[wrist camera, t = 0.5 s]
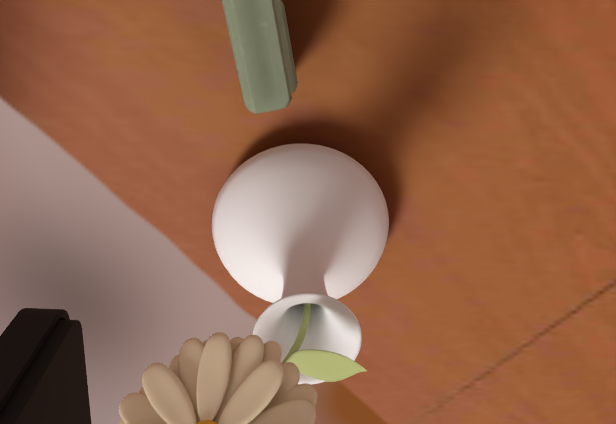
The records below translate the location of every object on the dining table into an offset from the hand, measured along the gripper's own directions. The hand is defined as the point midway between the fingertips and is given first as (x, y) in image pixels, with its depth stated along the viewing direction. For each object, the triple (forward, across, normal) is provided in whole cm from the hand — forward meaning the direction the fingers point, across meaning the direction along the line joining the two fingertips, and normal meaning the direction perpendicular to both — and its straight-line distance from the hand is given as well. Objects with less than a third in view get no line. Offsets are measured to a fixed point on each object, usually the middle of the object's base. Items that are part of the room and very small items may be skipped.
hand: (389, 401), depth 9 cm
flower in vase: (+29, +1, +10) cm, 31 cm away
